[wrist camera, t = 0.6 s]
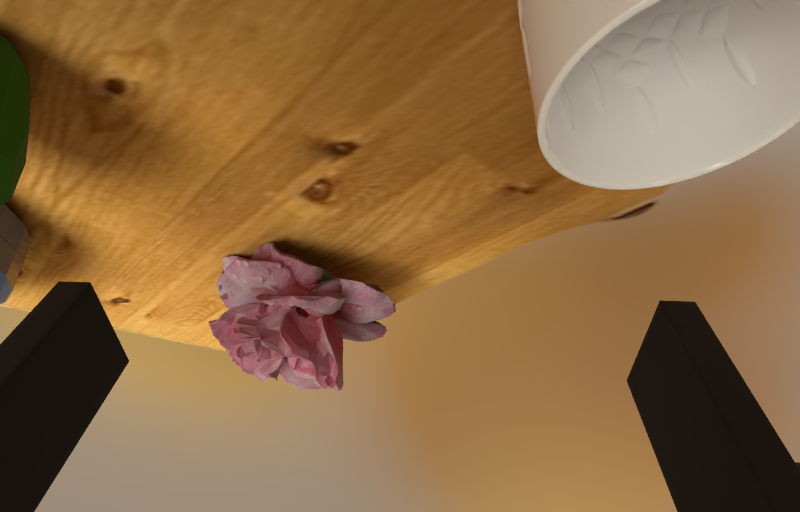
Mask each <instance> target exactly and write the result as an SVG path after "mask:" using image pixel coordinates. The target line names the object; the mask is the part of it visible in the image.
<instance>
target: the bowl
mask: <svg viewBox="0 0 800 512" xmlns="http://www.w3.org/2000/svg"><path fill="white" fill-rule="evenodd" d="M30 243H31V242H30V239H29V235H28V232H27V229H26V226H25V225H24V224H23V223H22V221H21V220H20V219H19V218H18V217H17V216H16V215H15V214H14V213H13V212H12V211H11V210H10V209H9V208H8V207H7V206H6V205H5V204H3V205H2V206H1V207H0V304H1V303H4V302H6V301H7V299H8V297H9V296H10V294H11V292H12V291H13V288H14V286H15V283H16V280H17V278H18V275H19V273H20V270H21V267H22V265H23V262H24V259H25V257H26V254H27V252H28V249H29V247H30Z"/></svg>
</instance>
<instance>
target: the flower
mask: <svg viewBox="0 0 800 512" xmlns="http://www.w3.org/2000/svg"><path fill="white" fill-rule="evenodd" d="M217 288H218V292H219V295H220V297H221V298H222V300H223V302H224V303H225V305H226V307H228V308H229V309H230V310H228V311H227V312H225V313H224V314H223V315H221V317H220V318H219V319H218V320H213V321H209V325H210V327H211V329H212V333H213V335H214V336H215V337H216V338H217V339H218V340H219V342H220V345H222V346H223V347H225V349H226V350H227V352H228V354H229V355H230V357H231V358H232V360H233V361H234V362H235V363H236V364H237V365H238V366H241V368H242V370H243V371H244V372H246V373H249V374H252V375H254V376H256V377H257V378H258V379H260V380H262V381H265V380H266V379H267V378H268V377H271V378H275V379H276V380H277V376H278V374H279V373H280V374H281V375H282V376H283V377H284V379H285V381H286V382H288V383H290V384H293V385H295V386H296V387H297V388H298V389H320V388H323V389H329V388H333V389H336V390H341V389H342V387H343V340H342V339H348V340H353V341H371V340H375V339H377V338H380V337H382V336H383V335H384V334H385V332H386V328H385V326H383V325H382V324H380V323H378V322H376V320H380V319H383V318H385V317H387V316H389V315H391V314H392V313H393V312H395V311H396V309H395V304H394V302H393V301H392V300H391V299H390V298H389V296H388V295H387V294H385V293H384V292H383V291H382V290H381V289H380V288H379V287H378V286H377V285H370V284H366V283H362V282H357V281H352V280H346V279H338V278H337V277H335V276H333V275H331V274H330V273H328V272H327V271H326V270H325V269H323V268H320V267H319V264H318V267H317V266H314V265H312V264H309V263H307V262H306V261H304V260H302V259H300V258H298V257H297V256H294V255H291V254H285V253H283V252H281V251H279V250H278V249H277V248H276V246H275V245H274V243H273V242H269V243H264V244H263V245H261V246H260V247H258V248H257V249H255V251H254V253H253V257H252V258H251V259H250V260H248V259H245V258H241V257H238V256H232V255H229V256H226V257H225V258H224V259H223V272H222V274H221V275H220V277H219V280H218V283H217Z"/></svg>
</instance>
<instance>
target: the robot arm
mask: <svg viewBox="0 0 800 512" xmlns="http://www.w3.org/2000/svg"><path fill="white" fill-rule="evenodd" d="M128 362H129V360H128V358H127V356H126V354H125V352H124V350H123V348H122V346H121V344H120V341H119V339H118V338H117V336H116V333H115V331H114V329H113V327H112V325H111V323H110V321H109V319H108V317H107V315H106V313H105V311H104V309H103V307H102V305H101V303H100V301H99V299H98V297H97V295H96V293H95V291H94V289H93V287H92V285H91V283H90V282H58V283H57V284H56V285H55V286H54V287H53V288H52V290H51V291H50V292H49V293H48V294H47V295H46V296H45V297H44V298H43V299H42V300H41V301H40V302H39V303H38V305H37V306H36V307H35V308H34V309H33V310H32V311H31V312H30V313H29V314H28V315H27V316H26V317H25V319H24V320H23V321H22V322H21V323H20V324H19V325H18V326H17V327H16V328H15V329H14V330H13V331H12V333H11V334H10V335H9V336H8V337H7V338H6V339H5V340H4V341H3V342H2V343H1V344H0V512H34V511H35V509H36V508H37V506H38V505H39V503H40V502H41V500H42V498H43V497H44V495H45V494H46V492H47V490H48V489H49V487H50V486H51V484H52V483H53V481H54V479H55V478H56V476H57V475H58V473H59V472H60V470H61V468H62V467H63V465H64V464H65V462H66V460H67V459H68V457H69V456H70V454H71V452H72V451H73V449H74V448H75V446H76V445H77V443H78V441H79V440H80V438H81V437H82V435H83V434H84V432H85V430H86V429H87V427H88V425H89V424H90V422H91V421H92V419H93V418H94V416H95V415H96V413H97V411H98V410H99V408H100V406H101V405H102V403H103V402H104V400H105V399H106V397H107V395H108V394H109V392H110V391H111V389H112V387H113V386H114V384H115V382H116V381H117V380H118V378H119V376H120V375H121V373H122V372H123V370H124V369H125V367H126V365H127V364H128ZM627 383H628V385H629V388H630V390H631V393H632V396H633V398H634V401H635V403H636V406H637V408H638V411H639V413H640V416H641V419H642V421H643V424H644V426H645V429H646V432H647V434H648V437H649V439H650V442H651V445H652V447H653V450H654V452H655V455H656V457H657V460H658V463H659V465H660V468H661V470H662V473H663V475H664V478H665V481H666V483H667V486H668V488H669V491H670V493H671V496H672V499H673V501H674V504H675V506H676V509H677V511H678V512H800V463H795V462H794V460H793V459H792V457H791V455H790V454H789V452H788V451H787V449H786V447H785V446H784V444H783V443H782V441H781V439H780V438H779V436H778V435H777V433H776V431H775V430H774V428H773V427H772V425H771V423H770V422H769V420H768V418H767V417H766V415H765V414H764V412H763V410H762V409H761V407H760V406H759V404H758V402H757V401H756V399H755V397H754V396H753V394H752V393H751V391H750V389H749V388H748V386H747V385H746V383H745V382H744V380H743V378H742V377H741V375H740V373H739V372H738V370H737V369H736V367H735V365H734V364H733V362H732V361H731V359H730V357H729V356H728V354H727V352H726V351H725V349H724V348H723V346H722V344H721V343H720V341H719V340H718V338H717V337H716V335H715V333H714V332H713V330H712V328H711V327H710V325H709V324H708V322H707V320H706V319H705V317H704V315H703V314H702V312H701V311H700V309H699V307H698V306H697V304H696V303H695V302H683V301H660V302H659V304H658V307H657V309H656V311H655V314H654V316H653V319H652V321H651V324H650V326H649V328H648V331H647V333H646V335H645V338H644V340H643V343H642V345H641V348H640V350H639V352H638V355H637V357H636V359H635V362H634V364H633V367H632V369H631V371H630V374H629V376H628V379H627Z"/></svg>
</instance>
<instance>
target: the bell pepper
mask: <svg viewBox="0 0 800 512" xmlns="http://www.w3.org/2000/svg"><path fill="white" fill-rule="evenodd" d="M30 99H31V96H30V74H29V72H28V70H27V69H26V67H25V65H24V63H23V61H22V60H21V58H20V57H19V55H18V54H17V52H16V51H15V49H14V47H13V46H12V44H11V43H10V41H9V40H7V39H5V38H4V37H2V36H0V207H1V206H2V205H3V204H5V203H6V202H7V201H8V200H10V199H11V198H12V196H13V193H14V191H15V188H16V186H17V183H18V181H19V178H20V176H21V173H22V171H23V168H24V166H25V163H26V153H27V144H28V134H29V122H30Z"/></svg>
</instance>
